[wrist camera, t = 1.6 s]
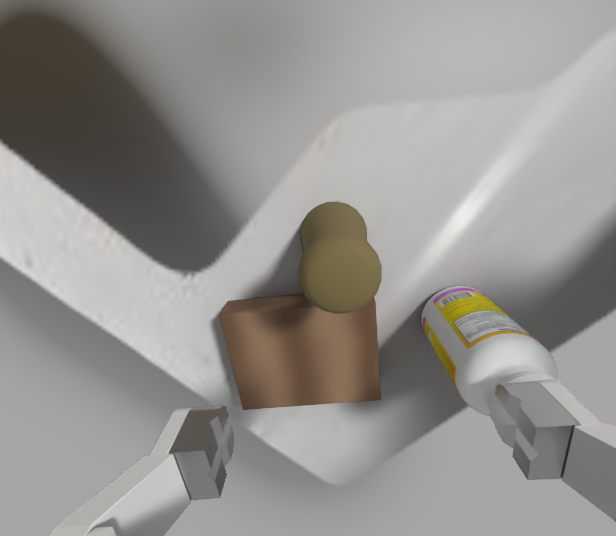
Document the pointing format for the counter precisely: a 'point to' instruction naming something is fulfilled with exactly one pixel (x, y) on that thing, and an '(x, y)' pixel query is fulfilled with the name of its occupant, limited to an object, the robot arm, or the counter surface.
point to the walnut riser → (301, 352)
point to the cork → (337, 259)
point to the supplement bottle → (482, 346)
